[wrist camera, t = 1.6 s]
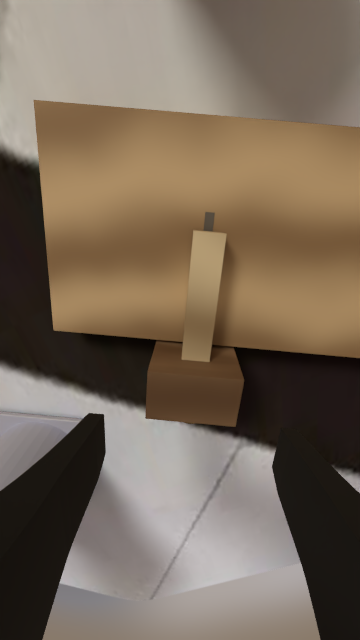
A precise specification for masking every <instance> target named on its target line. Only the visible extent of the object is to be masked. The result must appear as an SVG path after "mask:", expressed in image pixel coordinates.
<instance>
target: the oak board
mask: <svg viewBox="0 0 360 640" xmlns="http://www.w3.org/2000/svg"><path fill="white" fill-rule="evenodd" d="M34 109H35V120H36V132H37V143H38V155H39V167H40V178H41V190H42V201H43V213H44V224H45V236H46V248H47V259H48V271H49V282H50V294H51V305H52V317H53V329H54V330H56V331H67V332H78V333H89V334H100V335H111V336H122V337H133V338H144V339H155V340H166V341H177V342H183V335H184V324H185V314H186V303H187V292H188V281H189V271H190V260H191V249H192V238H193V230H200V231H212V232H223V233H225V234H227V235H226V243H225V250H224V258H223V265H222V272H221V280H220V287H219V295H218V302H217V310H216V317H215V325H214V332H213V339H212V345H221V346H232V347H243V348H254V349H265V350H276V351H287V352H298V353H309V354H320V355H331V356H342V357H353V358H360V127H348V126H336V125H324V124H312V123H300V122H289V121H277V120H265V119H253V118H241V117H229V116H217V115H206V114H194V113H182V112H170V111H158V110H146V109H134V108H122V107H111V106H99V105H87V104H75V103H63V102H51V101H39V100H34Z"/></svg>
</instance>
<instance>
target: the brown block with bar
mask: <svg viewBox="0 0 360 640" xmlns="http://www.w3.org/2000/svg"><path fill="white" fill-rule="evenodd" d="M226 235H227V234H225V233H223V232H212V231H200V230H193V238H192V249H191V260H190V271H189V281H188V292H187V303H186V314H185V324H184V335H183V342H177V341H166V340H157V341H156V344H155V348H154V351H153V355H152V358H151V362H150V365H149V369H148V376H147V397H146V419H157V420H167V421H178V422H185V423H188V424H194V423H200V424H211V425H221V426H232V427H236V421H237V416H238V411H239V406H240V400H241V395H242V390H243V384H244V378H243V375H242V372H241V369H240V366H239V363H238V360H237V357H236V353H235V350H234V347H232V346H221V345H212V339H213V332H214V325H215V317H216V310H217V302H218V295H219V287H220V280H221V272H222V265H223V258H224V250H225V243H226Z"/></svg>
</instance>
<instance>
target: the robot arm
mask: <svg viewBox="0 0 360 640" xmlns="http://www.w3.org/2000/svg"><path fill="white" fill-rule="evenodd" d="M105 453H106V451H105V428H104V414H93V413H89V414H88V415H86V416H85V417H84V418H83V419H76V418H66V417H55V416H44V415H34V414H23V413H12V412H1V411H0V640H42V639H43V635H44V632H45V628H46V625H47V622H48V618H49V615H50V612H51V609H52V605H53V602H54V599H55V595H56V592H57V589H58V585H59V582H60V579H61V576H62V573H63V570H64V566H65V563H66V560H67V557H68V554H69V551H70V549H71V546H72V543H73V541H74V538H75V536H76V533H77V531H78V528H79V526H80V523H81V521H82V518H83V516H84V513H85V511H86V508H87V506H88V504H89V501H90V499H91V496H92V494H93V491H94V489H95V486H96V483H97V481H98V478H99V475H100V471H101V468H102V464H103V461H104V457H105ZM272 468H273V473H274V478H275V483H276V487H277V491H278V495H279V498H280V501H281V504H282V507H283V510H284V513H285V516H286V519H287V522H288V525H289V528H290V531H291V534H292V537H293V540H294V543H295V546H296V549H297V552H298V555H299V558H300V561H301V564H302V567H303V571H304V574H305V577H306V581H307V585H308V589H309V593H310V597H311V601H312V605H313V609H314V613H315V618H316V621H317V626H318V630H319V635H320V639H321V640H360V493H359V492H358V491H356V490H355V489H354V488H353V487H352V486H351V485H350V484H349V483H348V482H347V481H346V480H345V479H344V478H343V477H342V476H341V475H340V474H339V473H338V472H337V471H336V470H335V469H334V468H333V467H332V466H331V465H330V464H329V463H328V462H327V461H326V460H325V459H324V458H323V457H322V456H321V455H320V454H319V452H318V451H317V450H316V449H315V448H314V447H313V446H312V445H311V444H310V443H309V442H308V441H307V440H306V439H305V438H304V437H303V435H302V434H301V433H300V432H299V431H298V430H297V429H286V428H281V431H280V435H279V440H278V444H277V448H276V452H275V456H274V461H273V465H272Z"/></svg>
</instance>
